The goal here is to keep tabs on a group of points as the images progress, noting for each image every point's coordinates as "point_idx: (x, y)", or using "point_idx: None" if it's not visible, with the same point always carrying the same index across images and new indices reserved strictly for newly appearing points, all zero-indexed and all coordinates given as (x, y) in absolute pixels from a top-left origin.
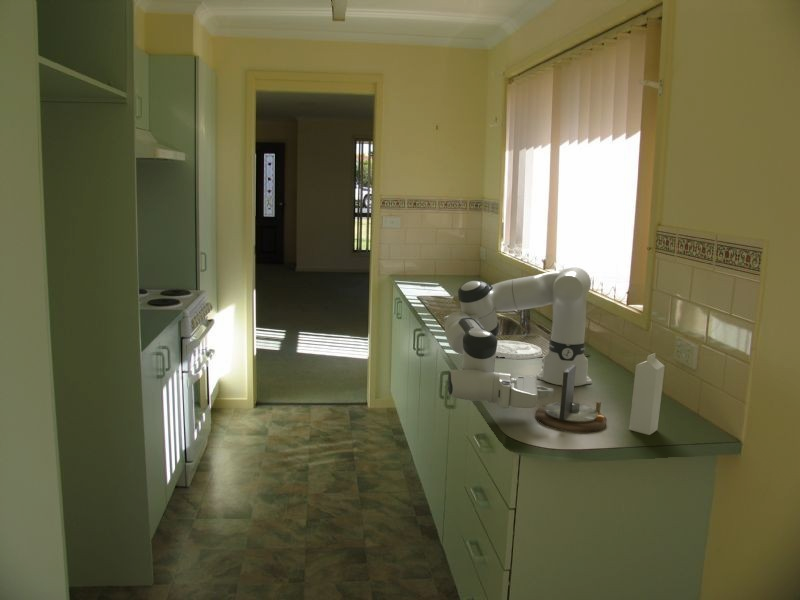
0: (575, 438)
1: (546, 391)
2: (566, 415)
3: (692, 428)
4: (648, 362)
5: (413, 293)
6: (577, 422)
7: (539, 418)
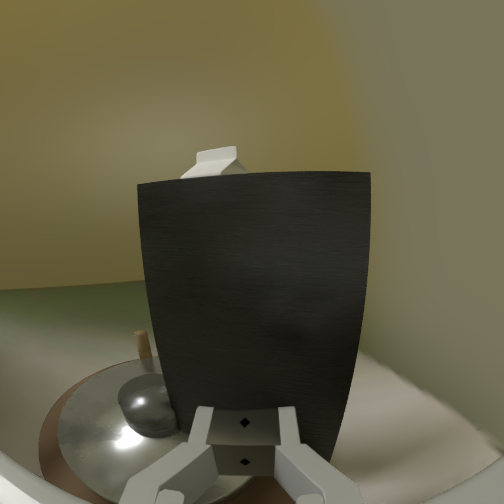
0: (370, 430)
1: (311, 454)
2: None
3: None
4: (238, 160)
5: None
6: None
7: None
